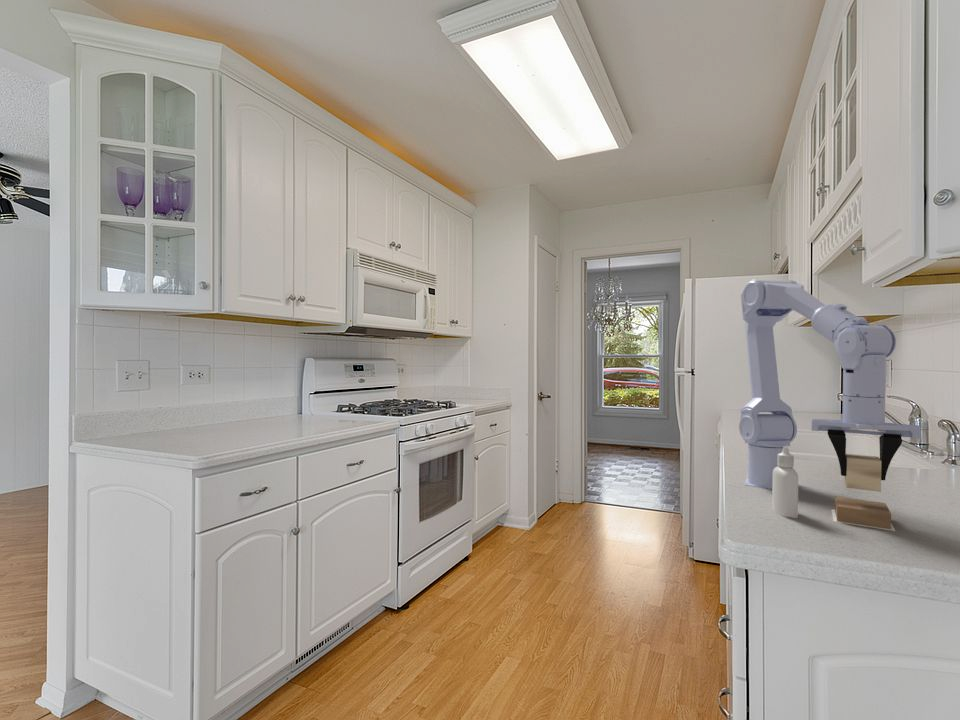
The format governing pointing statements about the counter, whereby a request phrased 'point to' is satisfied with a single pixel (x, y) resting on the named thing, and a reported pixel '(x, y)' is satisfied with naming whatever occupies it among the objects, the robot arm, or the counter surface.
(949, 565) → the counter surface
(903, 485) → the counter surface
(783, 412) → the robot arm
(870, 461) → the beech block
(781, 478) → the eye dropper bottle
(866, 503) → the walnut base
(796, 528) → the counter surface
